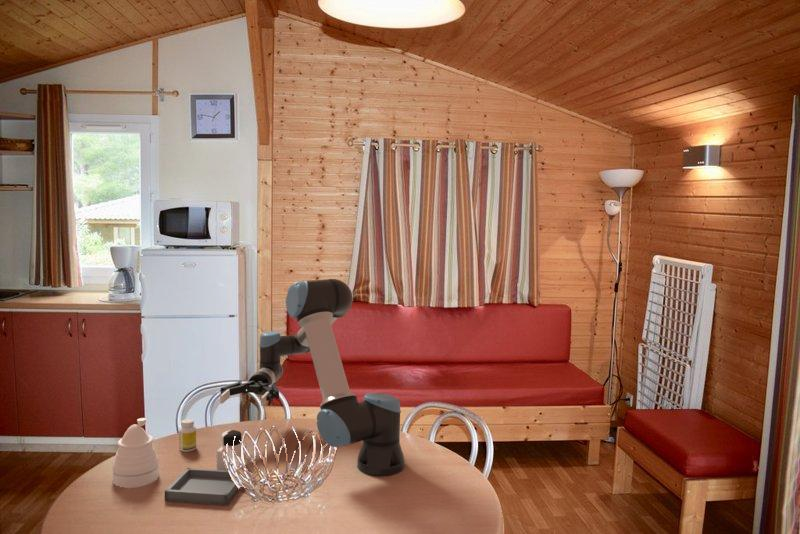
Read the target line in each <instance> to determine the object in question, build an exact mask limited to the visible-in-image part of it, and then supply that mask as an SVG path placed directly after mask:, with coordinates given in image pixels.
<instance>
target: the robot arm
mask: <svg viewBox="0 0 800 534" xmlns="http://www.w3.org/2000/svg"><path fill="white" fill-rule="evenodd" d="M287 290H288V291H287V294H286V299H285V308H286V311H287V314H288V316H289V317H290V318H293V319H296V321H297V324H298V327H301V328H300V329H299V330H298V331H297V332H296V333H294V334H287V335H281V333H280V332H279V331H275V330H274V331H273V330H272V331H270V330H269V331H264V332H262V333H261V334H260V336H259V369H258V370H257V371H256V372H255V373H254V374H253V375H251V377H250V378H249V380H248V382H244V383H243V382H242V380H240V381H237V382H234V383H231V384H229V385H225V386H223V387H220V394H219V397H220V399H219V400H220V404H224V403H225V402H226V401H227V400H228V399H229V398H230V397H231V396H235V395H239V394H240V395H241V394H245V395H246V394H250V393H251V394H255V395H262V396H261V397H260V406H261V407H264V406H265V405H266V404H267V402H268V401H269V402H270V401H271V400H273V399H274V398H275V399H276V400H279V399H280V390H279V388H278V387H277V382H278V381H279V380H281V379H280V378H281V377H282V375H283V372H284V367H283V365H282V364H281V357H286V356H292V355H294V356H295V355H300V354H308V353H310V355H311V359H312V363H313V367H314V370H315V375H316V377H317V381H318V385H319V388H320V392H321V396H322V401H321V403H320V405H319V408H320V410H319V411H318V412H317V415H316V420H317V421H316V427H317V430H318V433H319V435H320V437H321V439H322V440H323V441H324V443H325V444H327V445H328V446H330V447H331V448H332V447H333V448H337V447H338V448H339V447H346V446H349V445H351V444H354V443H359V442H362V445H361V447H360V451H359V453H358V456H357V459H356V460H357V468H358V470H359V471H360V472H362V473H365V474H367V475H372V476H379V477H380V476H382V477H383V476H391V475H395V474H399V473H400V472H402V471H403V470H404V468H405V462H406V460H405V456H404V454H403V450H402V449H403V448H402V445H401V442H400V436H401V435H400V434H401V412H402V411H401V402H400V399H399V398H398V397H396V396H395V395H391V394H388V393H383V392H382V393H381V392H368V393H366V394H365V395H363V398H362V399H363V401H359V400H358V397H357V394H355V393H354V392H352V391H350V387H349V383H348V380H347V375H346V372H345V369H344V365H343V362H342V358H341V355H340V351H339V348H338V345H337V341H336V337H335V334H334V331H333V330H334V329H333V327H332V324H334V323H335V322H336V321H337V319H340V318H343V317H345V315H347V313H348V312H349V311H350V309H351V308H352V306H353V301H354V300H353V299H354V297H353V292H352V290H351V288H350V287H349V285H347V283H345V282H344V281H342V280H341V279H336V278H329V279H325V278H324V279H314V280H311V279H310V280H305V279H304V280H301V281H299V280H298V281H294V282H293V283H292V284H291V285H290V286H289V288H288V289H287Z"/></svg>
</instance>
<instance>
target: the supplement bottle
mask: <svg viewBox="0 0 800 534" xmlns="http://www.w3.org/2000/svg"><path fill="white" fill-rule="evenodd" d="M180 422H181V423H180V426H181V427H179V429H178V432H179V433H178V434H179V436H178V437H179V438H178V439H179V440H178V443H179V451H180V452H185V453H189V452H192V451H196V449H197V427H196V426H195V420H194V419H192V418H186V419H182V420H181V421H180Z"/></svg>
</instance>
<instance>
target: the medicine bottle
mask: <svg viewBox="0 0 800 534" xmlns="http://www.w3.org/2000/svg"><path fill="white" fill-rule="evenodd" d="M234 436H236V438H235V441H234V451H235V453H236V455H237V456H239V457H241V444H240V442H239V440H240V441H242V433H241V431H239V430H236V429H231V430H226V431H224V432H222V434H221V438H220V439H221V447H219V448H218V449H217V451H216V470H226V468H225V465H224V462H223V458H222V450H223V448H224V447H226V444H227V443H228V445H229V448H232V446H233V440H234ZM243 444H244V446H245V448H246V449H247V444H246V443H243ZM244 460H245V462H246V463H247V453H246V454H245V453H244Z"/></svg>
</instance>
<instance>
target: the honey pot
mask: <svg viewBox="0 0 800 534" xmlns="http://www.w3.org/2000/svg"><path fill="white" fill-rule="evenodd" d="M136 422H137V424H135V423H134V424H131V425H130V426H129V427H128V428H127V430H126V431H125V432H124V434H123V436H122V437H121V438H120V439H119V440H118V441H117V446H118V448H117V451H116V452H115V457H114V461H113V462H112V467H111V468H112V484H113V483H114V484H115V485H117V486H120V487H119V488H121V487H125V488H124V489H134V488H140V487H144V486H147V485H150V484H152V483H154V482H156V480H158V479H159V477H160V471H159V470H160V465H159V461H160V459H159V456H158V455H157V452H156V451H155V447H154V445H153V442H154V441H155V440H154V437H153V436H152V435H150V434H147V432H146V431H145V429H144V428H143V427H142V426H144V425H145V424H147V423H146V422H147V418H146V417H140V418H137V419H136ZM114 484H113V485H114ZM115 485H114V486H115ZM117 486H116V487H117Z"/></svg>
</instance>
